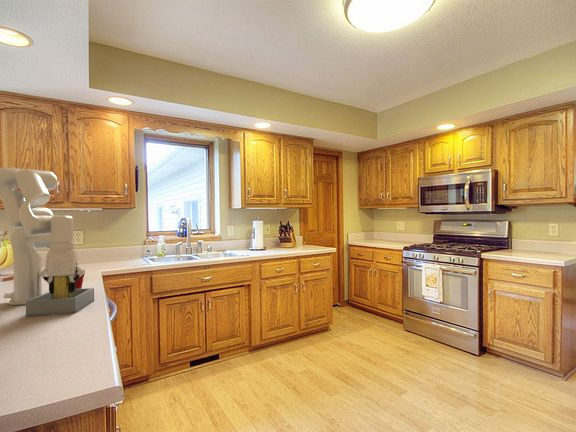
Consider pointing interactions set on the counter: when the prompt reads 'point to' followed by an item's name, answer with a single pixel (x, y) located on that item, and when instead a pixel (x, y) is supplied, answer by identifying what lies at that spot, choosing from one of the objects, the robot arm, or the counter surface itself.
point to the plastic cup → (79, 280)
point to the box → (59, 303)
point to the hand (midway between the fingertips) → (62, 292)
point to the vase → (61, 287)
